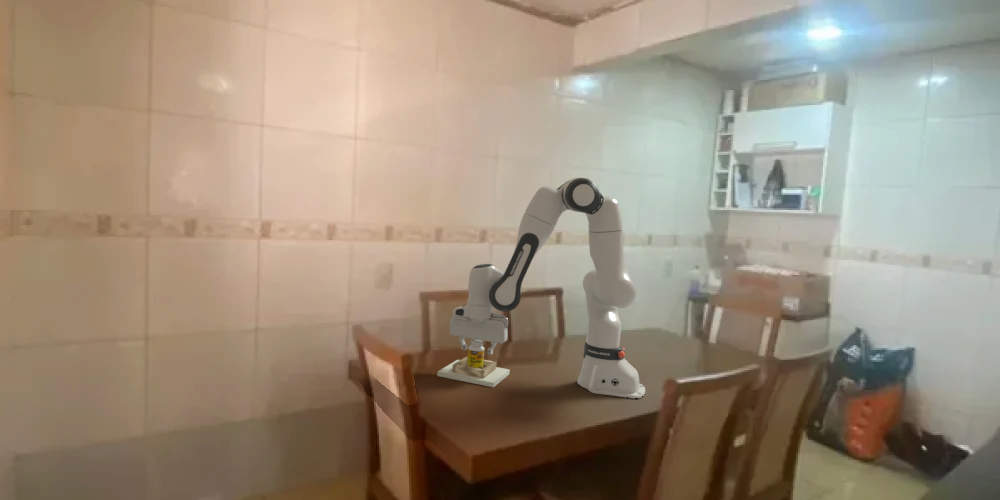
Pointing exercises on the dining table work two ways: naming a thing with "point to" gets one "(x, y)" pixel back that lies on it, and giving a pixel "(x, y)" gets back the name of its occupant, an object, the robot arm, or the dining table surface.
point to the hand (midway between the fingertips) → (477, 351)
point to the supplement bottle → (475, 354)
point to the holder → (475, 373)
